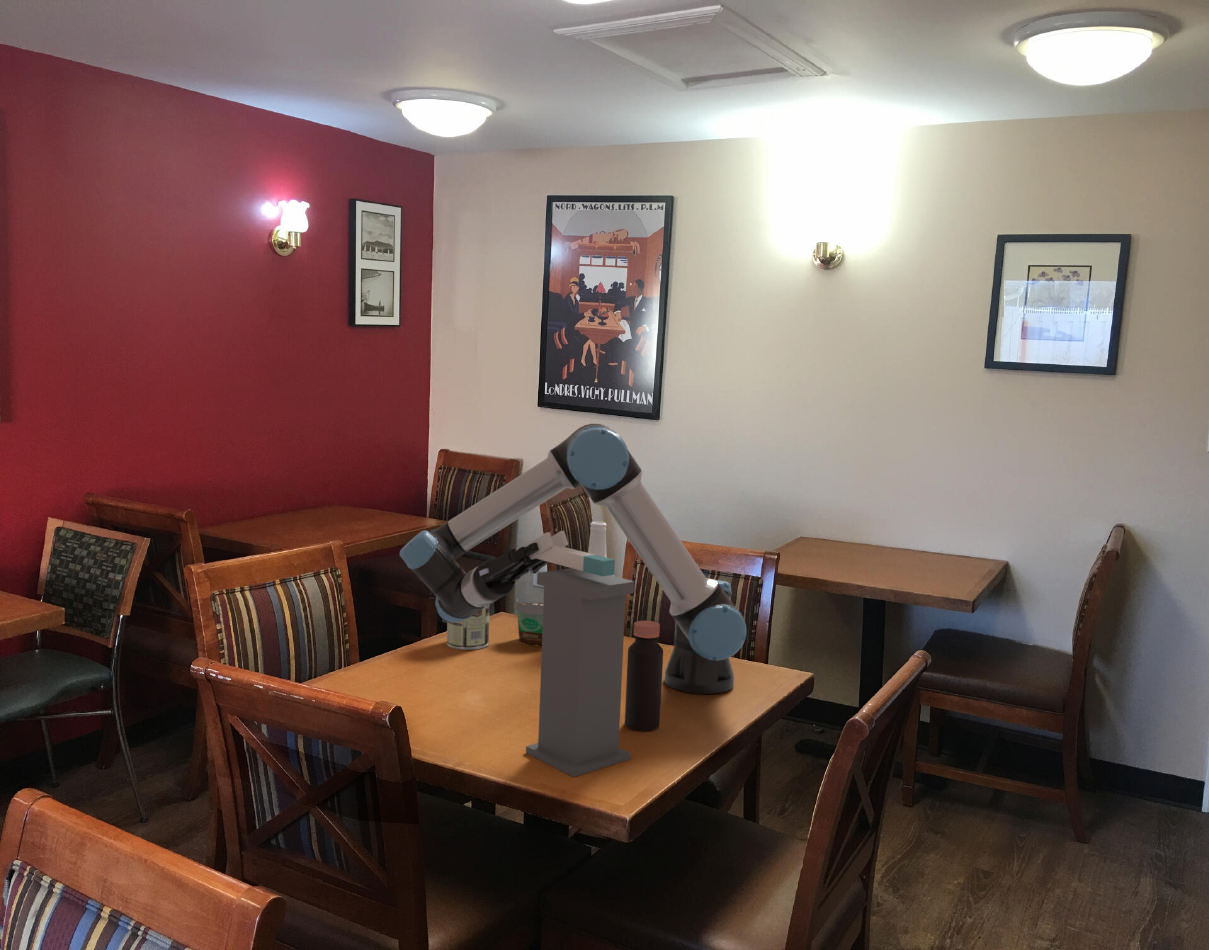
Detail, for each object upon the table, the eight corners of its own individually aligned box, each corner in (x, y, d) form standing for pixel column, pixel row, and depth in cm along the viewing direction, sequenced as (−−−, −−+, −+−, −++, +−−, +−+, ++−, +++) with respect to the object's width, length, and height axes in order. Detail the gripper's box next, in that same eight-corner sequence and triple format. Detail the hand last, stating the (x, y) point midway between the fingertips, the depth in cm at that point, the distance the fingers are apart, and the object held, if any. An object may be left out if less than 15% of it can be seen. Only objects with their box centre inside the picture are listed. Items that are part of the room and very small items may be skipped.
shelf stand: (524, 751, 177) (530, 573, 174) (580, 735, 186) (587, 566, 182) (575, 778, 167) (583, 589, 164) (632, 760, 176) (640, 580, 172)
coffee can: (464, 636, 250) (466, 580, 248) (497, 643, 244) (499, 586, 243) (436, 644, 241) (438, 587, 239) (470, 652, 236) (471, 594, 234)
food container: (507, 644, 244) (508, 604, 243) (514, 638, 250) (515, 598, 249) (557, 649, 242) (558, 608, 241) (562, 642, 248) (564, 602, 247)
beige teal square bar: (525, 555, 183) (526, 541, 183) (537, 554, 185) (537, 540, 184) (602, 576, 168) (603, 561, 167) (614, 574, 169) (614, 559, 169)
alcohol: (571, 638, 252) (576, 519, 249) (605, 636, 254) (610, 519, 251) (580, 647, 244) (585, 525, 240) (615, 646, 246) (620, 525, 243)
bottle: (633, 733, 188) (638, 629, 186) (618, 721, 195) (623, 620, 192) (665, 729, 191) (671, 627, 189) (650, 717, 197) (655, 618, 195)
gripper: (526, 595, 199) (596, 553, 182) (460, 606, 188) (528, 562, 172) (516, 559, 201) (584, 515, 184) (449, 568, 190) (516, 522, 174)
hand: (557, 538), depth 178 cm, fingers closed on beige teal square bar, 3 cm apart
